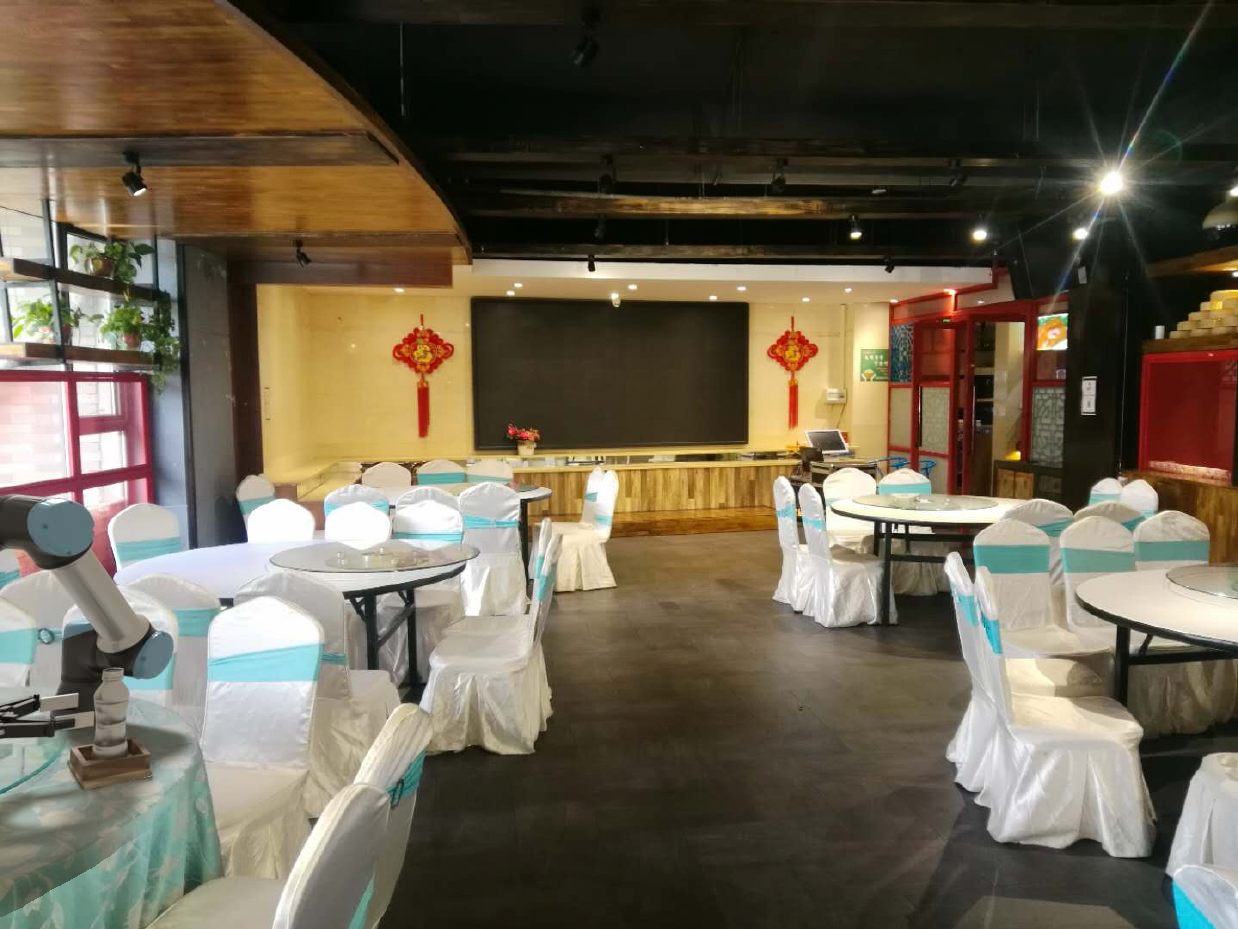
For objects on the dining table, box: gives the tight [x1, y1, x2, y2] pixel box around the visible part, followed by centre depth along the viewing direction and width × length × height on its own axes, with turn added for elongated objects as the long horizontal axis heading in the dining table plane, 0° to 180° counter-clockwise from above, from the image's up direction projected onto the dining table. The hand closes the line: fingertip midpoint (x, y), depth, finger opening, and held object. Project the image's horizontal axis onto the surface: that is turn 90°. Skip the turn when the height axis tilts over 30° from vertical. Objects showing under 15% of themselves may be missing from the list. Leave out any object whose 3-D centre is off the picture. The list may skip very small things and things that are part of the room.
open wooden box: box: [67, 736, 153, 791], centre depth 174 cm, size 16×12×4 cm
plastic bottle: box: [91, 668, 131, 763], centre depth 174 cm, size 6×7×20 cm
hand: (85, 709), depth 170 cm, fingers open, 13 cm apart
